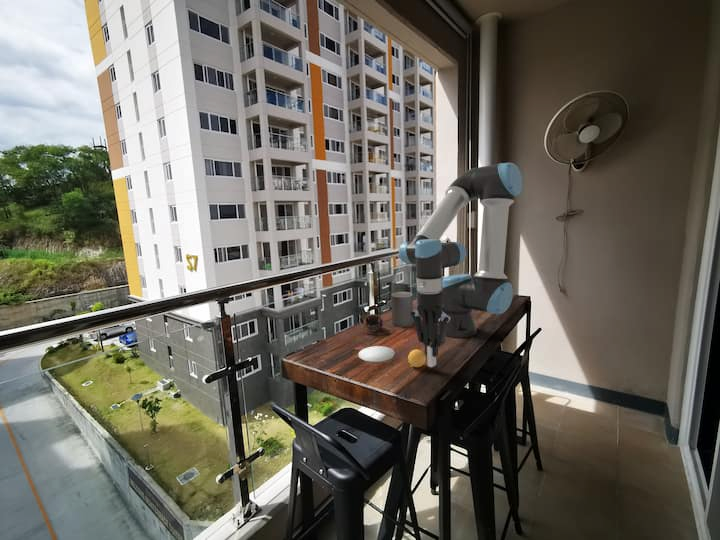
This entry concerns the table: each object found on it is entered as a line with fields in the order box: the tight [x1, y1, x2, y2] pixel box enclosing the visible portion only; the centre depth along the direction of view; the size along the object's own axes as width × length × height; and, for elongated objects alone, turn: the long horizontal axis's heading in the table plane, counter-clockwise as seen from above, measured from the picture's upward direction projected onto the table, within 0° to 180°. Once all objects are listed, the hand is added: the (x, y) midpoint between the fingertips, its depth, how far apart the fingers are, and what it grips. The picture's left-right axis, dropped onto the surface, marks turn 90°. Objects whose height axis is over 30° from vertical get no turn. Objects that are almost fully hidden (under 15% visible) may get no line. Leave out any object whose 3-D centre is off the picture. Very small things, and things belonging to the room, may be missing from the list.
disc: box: [357, 345, 396, 363], centre depth 117 cm, size 13×13×1 cm
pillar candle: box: [390, 291, 414, 328], centre depth 146 cm, size 10×10×15 cm
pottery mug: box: [359, 313, 384, 335], centre depth 141 cm, size 12×10×8 cm
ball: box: [407, 348, 427, 368], centre depth 105 cm, size 6×6×6 cm
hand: (431, 365), depth 101 cm, fingers closed
